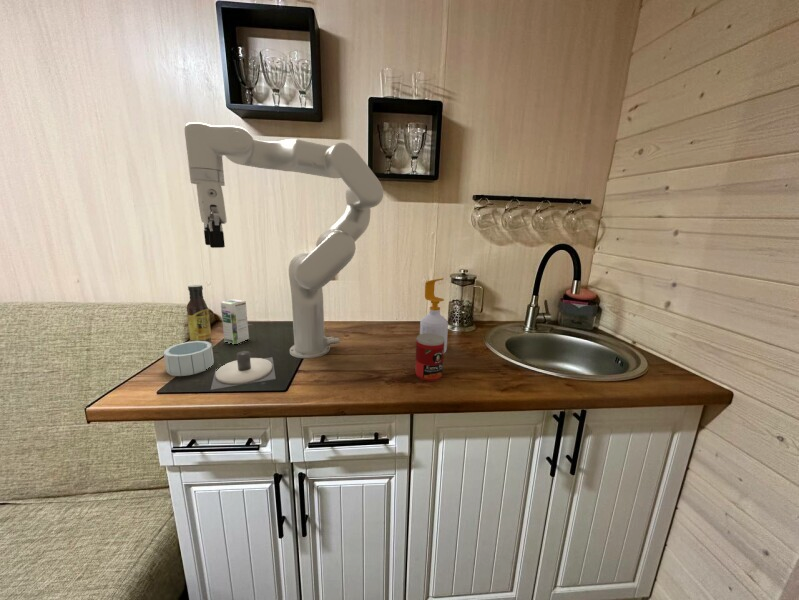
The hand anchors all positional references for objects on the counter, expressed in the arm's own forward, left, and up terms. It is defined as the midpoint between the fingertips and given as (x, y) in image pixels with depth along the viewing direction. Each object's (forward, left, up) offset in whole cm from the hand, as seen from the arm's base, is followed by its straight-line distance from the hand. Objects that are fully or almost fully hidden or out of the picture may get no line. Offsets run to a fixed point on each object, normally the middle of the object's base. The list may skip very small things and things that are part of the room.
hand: (214, 246), depth 85 cm
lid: (-5, +8, -34) cm, 35 cm away
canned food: (-52, +28, -35) cm, 68 cm away
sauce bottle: (+9, -22, -35) cm, 42 cm away
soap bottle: (-62, +13, -35) cm, 72 cm away
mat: (-5, +8, -34) cm, 35 cm away
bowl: (+9, -1, -34) cm, 36 cm away
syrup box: (-2, -19, -35) cm, 40 cm away
